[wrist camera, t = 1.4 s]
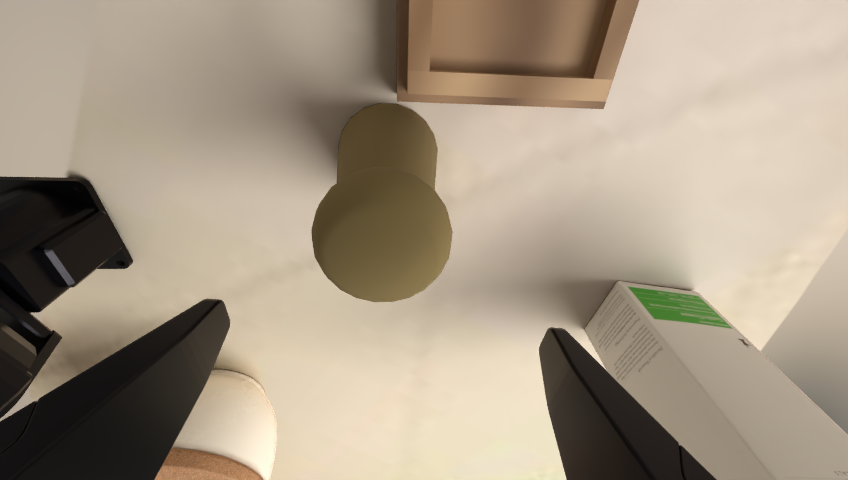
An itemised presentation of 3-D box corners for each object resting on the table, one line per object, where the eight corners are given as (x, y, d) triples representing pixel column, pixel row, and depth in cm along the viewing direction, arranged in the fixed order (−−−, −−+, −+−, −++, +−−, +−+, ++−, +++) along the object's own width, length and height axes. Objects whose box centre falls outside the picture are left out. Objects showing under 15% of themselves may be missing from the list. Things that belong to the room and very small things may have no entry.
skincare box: (697, 290, 29) (944, 509, 16) (653, 340, 32) (827, 554, 19) (613, 278, 27) (809, 510, 14) (577, 332, 31) (708, 558, 18)
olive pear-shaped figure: (317, 152, 20) (249, 263, 11) (388, 78, 18) (380, 136, 9) (388, 215, 23) (382, 347, 13) (457, 157, 21) (505, 265, 11)
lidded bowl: (149, 337, 27) (24, 496, 18) (304, 364, 31) (265, 510, 21) (154, 417, 34) (63, 566, 24) (283, 432, 37) (245, 568, 28)
